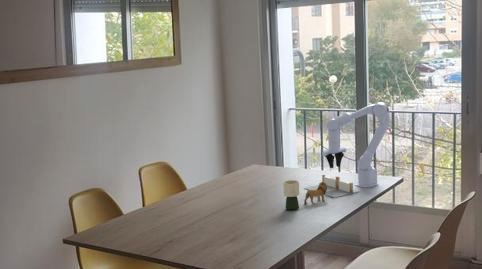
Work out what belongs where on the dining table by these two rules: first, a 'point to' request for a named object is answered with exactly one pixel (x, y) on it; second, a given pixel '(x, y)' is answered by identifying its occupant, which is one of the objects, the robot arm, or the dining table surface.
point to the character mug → (291, 194)
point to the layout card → (332, 191)
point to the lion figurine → (316, 193)
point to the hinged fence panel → (329, 181)
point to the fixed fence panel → (344, 185)
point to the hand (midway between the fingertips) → (334, 167)
